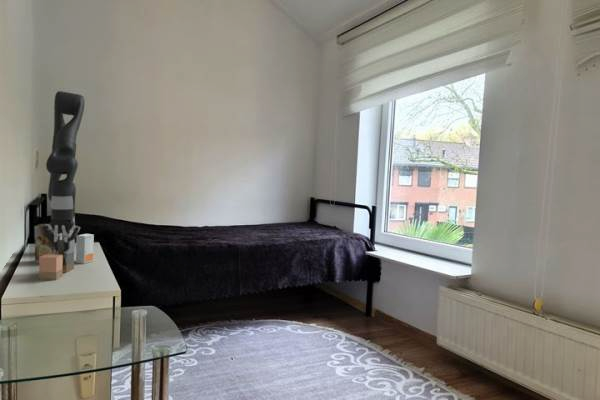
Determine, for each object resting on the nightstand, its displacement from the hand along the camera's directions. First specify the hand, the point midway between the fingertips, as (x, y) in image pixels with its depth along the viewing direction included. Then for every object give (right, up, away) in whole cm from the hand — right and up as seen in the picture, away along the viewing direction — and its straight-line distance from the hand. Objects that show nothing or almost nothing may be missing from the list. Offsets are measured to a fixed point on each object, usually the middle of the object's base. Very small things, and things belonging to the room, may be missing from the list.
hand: (62, 250), depth 171 cm
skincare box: (0, -7, +17) cm, 19 cm away
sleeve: (-1, -8, +3) cm, 9 cm away
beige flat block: (0, -5, -3) cm, 6 cm away
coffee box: (-13, -7, +14) cm, 21 cm away
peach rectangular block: (0, -9, -8) cm, 12 cm away
